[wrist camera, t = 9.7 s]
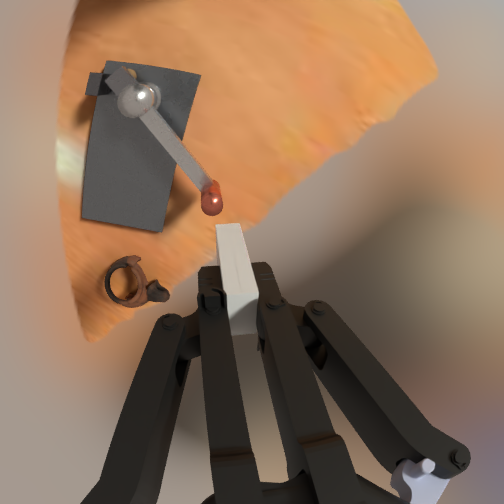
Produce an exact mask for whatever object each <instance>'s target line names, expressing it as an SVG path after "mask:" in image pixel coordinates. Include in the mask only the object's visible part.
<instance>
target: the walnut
mask: <svg viewBox="0 0 504 504" xmlns="http://www.w3.org/2000/svg"><path fill="white" fill-rule="evenodd" d="M128 71H129V72H130V73H131V74H132V75H133V77H134V78H135V79H136V78H137V75H136V72H135V71H134V70H132V69H128Z"/></svg>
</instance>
